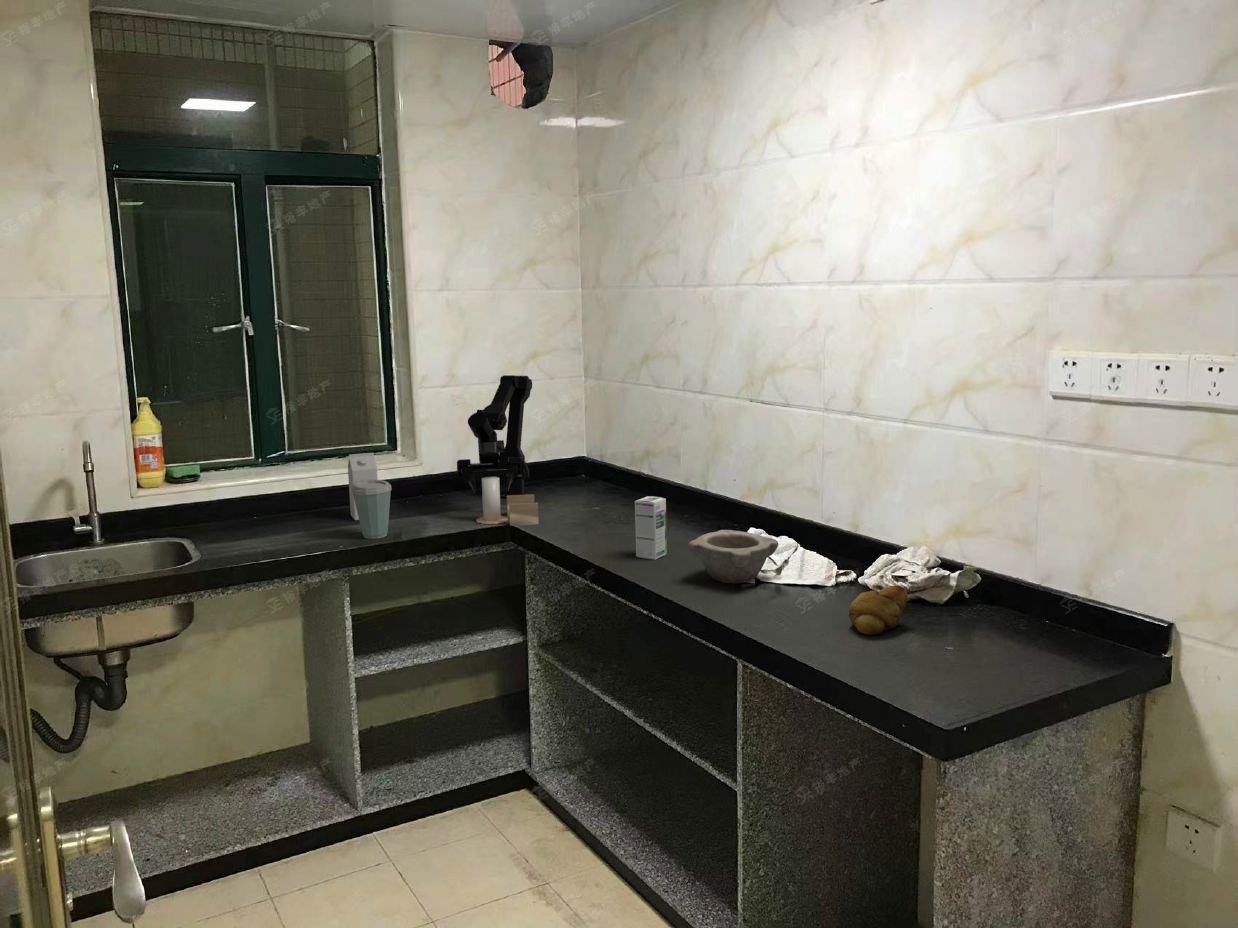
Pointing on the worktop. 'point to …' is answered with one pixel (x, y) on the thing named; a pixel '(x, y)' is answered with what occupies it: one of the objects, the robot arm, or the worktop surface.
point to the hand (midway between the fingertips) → (491, 491)
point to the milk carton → (360, 474)
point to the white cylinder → (491, 498)
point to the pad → (480, 520)
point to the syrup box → (650, 527)
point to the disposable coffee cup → (372, 506)
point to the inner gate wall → (519, 500)
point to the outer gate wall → (523, 513)
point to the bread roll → (878, 609)
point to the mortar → (732, 554)
